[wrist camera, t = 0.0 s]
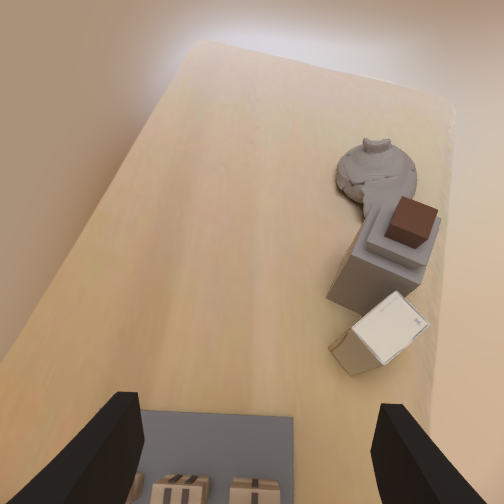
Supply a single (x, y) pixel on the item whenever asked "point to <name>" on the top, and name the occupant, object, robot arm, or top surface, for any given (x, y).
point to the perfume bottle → (386, 254)
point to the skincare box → (379, 335)
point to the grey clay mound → (376, 173)
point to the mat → (217, 450)
